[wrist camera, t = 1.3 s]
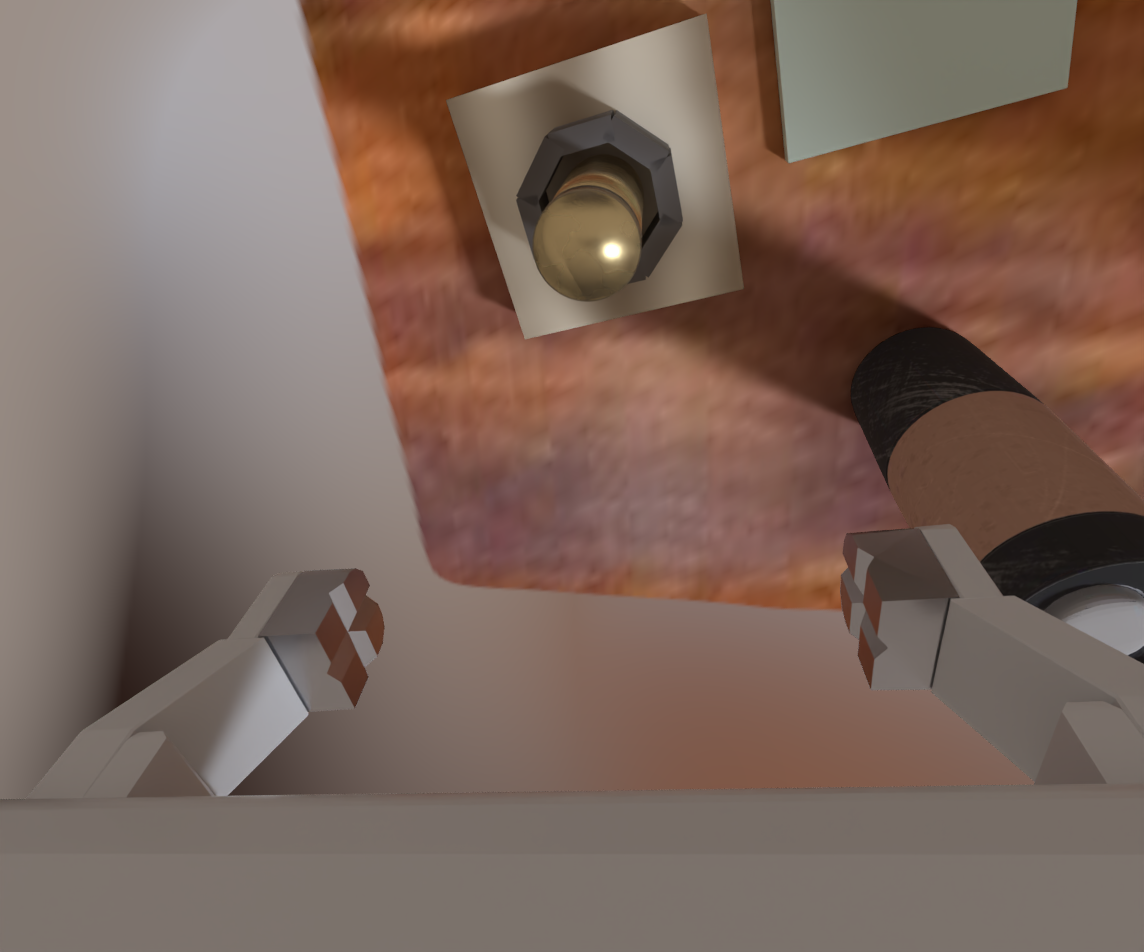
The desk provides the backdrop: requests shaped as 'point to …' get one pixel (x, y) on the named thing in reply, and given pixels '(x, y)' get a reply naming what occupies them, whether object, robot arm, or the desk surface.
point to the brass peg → (591, 230)
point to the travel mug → (1005, 482)
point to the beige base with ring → (623, 129)
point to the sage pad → (909, 64)
